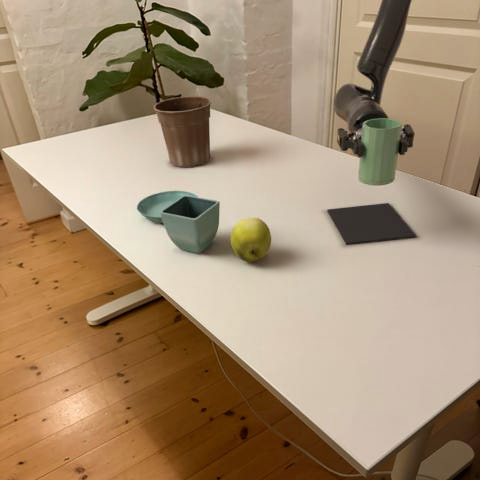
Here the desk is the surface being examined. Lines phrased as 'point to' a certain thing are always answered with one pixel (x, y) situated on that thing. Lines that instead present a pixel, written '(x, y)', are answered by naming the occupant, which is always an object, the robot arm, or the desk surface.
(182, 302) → the desk surface
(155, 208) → the saucer
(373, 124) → the cup
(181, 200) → the flower pot
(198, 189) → the desk surface
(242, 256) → the apple
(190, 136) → the plant pot
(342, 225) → the mat
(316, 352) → the desk surface
